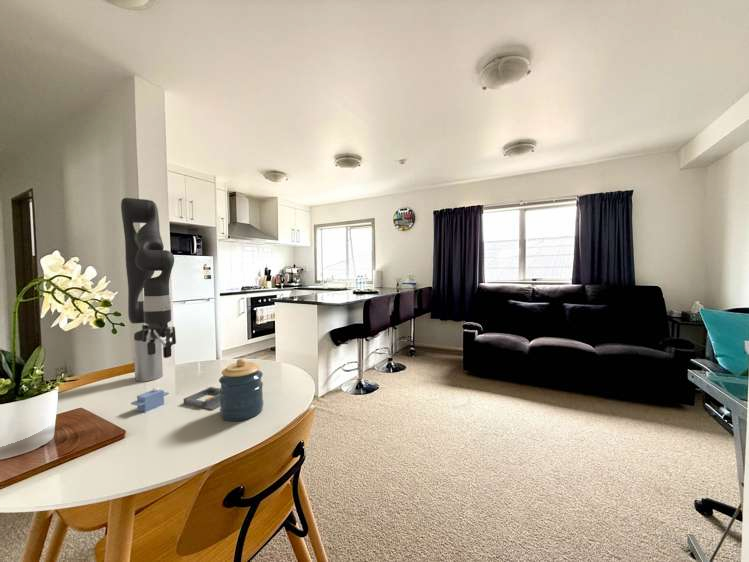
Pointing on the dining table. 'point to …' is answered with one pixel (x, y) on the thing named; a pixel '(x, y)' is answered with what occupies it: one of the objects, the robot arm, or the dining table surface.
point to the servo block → (150, 400)
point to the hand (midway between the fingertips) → (159, 355)
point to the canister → (241, 391)
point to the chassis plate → (208, 403)
